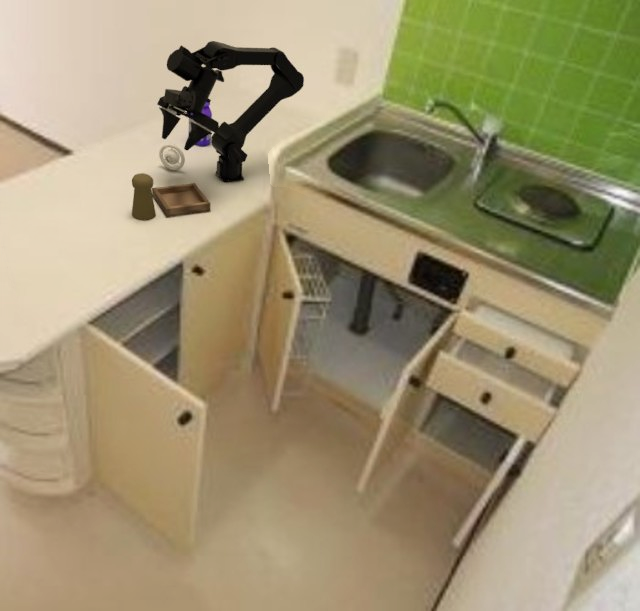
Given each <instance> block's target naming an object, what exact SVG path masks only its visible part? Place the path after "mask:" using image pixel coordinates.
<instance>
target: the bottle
mask: <svg viewBox="0 0 640 611" xmlns="http://www.w3.org/2000/svg"><path fill="white" fill-rule="evenodd" d="M210 106H211V103H210V104H209V103H207V102H206V104H205V106H204V108H203V110H202V113H203V114H205V115H207V116H209V117H210V118H212V119H213V112H212V110H211V108H210ZM191 115H193V113H191ZM191 122H193V123H195V124H196V122H194V120H192V119H190V118H188V135H189V134H190V132H191ZM211 137H212V134H211V135H210V134H209V135H207V136H206V137H204V138H203V139H201V140H200V141H199V142H198V143H196V144H195V146H196V145H197V146H200V147H204V146H208V145H209V144H210V143H211V140H212V139H211Z"/></svg>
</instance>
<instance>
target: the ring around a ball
mask: <svg viewBox="0 0 640 611" xmlns="http://www.w3.org/2000/svg"><path fill="white" fill-rule="evenodd" d="M168 148H171V149H168ZM165 149H168V150H166V152H165V153H164V151H165ZM158 155H159V156H158V157H159V159H160V160H159V161H160V162H161V163H162V165H163V166H164V167H165V168H167V169H168V170H171V171H179V170H181V169H182V168H183V166H184V165H185V163H186V159H185V158H186V157H185V154H184V152H183V151H182V149H181V148H180V147H179V146H178V145H176V144H173V143H165V144H164V145H162V146H161V147H160V149H159V152H158ZM179 161H180V162H179ZM176 164H178V165H176ZM174 165H175V166H174Z"/></svg>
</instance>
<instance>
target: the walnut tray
mask: <svg viewBox="0 0 640 611" xmlns="http://www.w3.org/2000/svg"><path fill="white" fill-rule="evenodd" d="M151 190H152V196H153V201H155V202H156V204H157V206H158V207H159V208H160V210H161V212H162V213H163V214H164V216H165V218H173V217H181V216H188V215H195V214H202V212H203V213H210V212H211V202H210V201H209V199H208V198H207V197H206V196H205V194H204V193H203V191H202V190H201V189H200V188H199V187H198V185H197V184H196V183H195V182H193V183H192V182H191V183H185V184H184V183H183V184H176V185H175V184H174V185H166V186H159V187H152V188H151ZM209 211H210V212H209Z"/></svg>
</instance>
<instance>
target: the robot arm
mask: <svg viewBox="0 0 640 611" xmlns="http://www.w3.org/2000/svg"><path fill="white" fill-rule="evenodd" d="M203 65H204V66H203ZM238 66H270V69H271V70H272V73H273V75H272V76H271V78H270V83H269V85H268V87H267V88H266V90H264V92H263V93H261V94H260V95H259V96H258V97H257V99H255V101H254V102H253V103H251V105H250V106H248V108H247V109H246V110H245V111H243V112H242V114H241V115H240V116H238V118H236V120H235V121H233V122H231V123H227V122H226V121H223V122H221V123H220V125H219V121H218V120H216V119H214V118H213V117H212V118H210V117H209V116H207V115H205V114H203V113H202V110H203V108H204V106H205V104H206V102H207V103H209V104H210V105H211V101H212V100H211V99H210V98H209V97H210V95H211V93H212V91H213V89H214V86H215V84H216V82H217V81H218V82H222V83H224V82H225V77H224V76H223V71H227V70H233V69H235V68H236V67H238ZM166 69H167V70H168V71H169V72H172V73H173V74H174V75H176V76H178V77H179V78H181V79H182V80H184V81H185V82H189V84H188V86H186V85H185V86H183V87H182V89H181V90H178V89H169V88H165V90H164V96H161V97H159V99H158V101H157V104H156V105H158V106H159V110H160V111H161V114H162V116H163V117H162V118H163V122H162V133H161V139H163V140H166V139H167V138H168V137H169V136H170V135H171V133H172V132H173V130H174V129H175V128H176V126H177V125H178V124H179V122H180V121H181V117H180V116H183V117H186V118H187V119H189V118H190V119H192V120H194V122H196V124H195V123H193V122H191V132H190V134H189V133H188V136H187V139H186V141H185V144H184V146H183V147H184V148H183V149H184V150H185V151H189V150H190V149H191V148H192V147H194V146H196V143H198V142H199V141H200V140H201V139H203V138H204V137H206V136H207V135H209V134H210V135H211V141H210V143H211V146H212V148H214V150H215V153H217V154H218V160H217V161H216V170H215V175H217V176H218V178H220V180H221V181H222V182H224V183H229V182H230V183H231V182H236V181H237V182H238V181H244V180H245V177H244V176H243V163H245V162H246V160H247V157H248V154H247V153H246V151H244V150H243V149H242V148H243V147H244V145H245V141H246V138H247V136H248V135H249V133H250V132H252V130H253V129H254V128H256V126H257V125H258V124H259V123H260V122H261V121H262V120H263V119H264V118H265V117H266V116H267V115H268V114H269V113H270V112H271V111H272V110H273V109H274V108H275V107H276V106H277V105H278V104H279V103H280V102H281V101H282V100H285V99H288V98H290V97H293V96H295V95H296V94H297V93H298V92H300V91H301V90H302V88H303V87H304V86H305V85H304V84H305V83H304V82H305V79H304V75H303V74H302V73H301V71H298V70H297V67H295V66H294V64H293V63H292V62H291V61H290V60H289V59H288V56H287V55H286V54H285V52H284V51H282V50H280V49H279V48H276V47H269V48H268V47H264V48H263V47H238V46H237V47H236V46H233V45H229V44H226V43H223V42H219V41H214V40H211V41H208V42H207V43H206V45H205V46H204V47H201V48H199V49H197V50H195V51H194V52H191V50H189V49H187V47H185V46H183V45H180V46H179V47H178V49H175V50H173V52H172V53H170V54H169V56H168V58H167V61H166ZM214 69H216V70H214ZM191 113H193V115H191ZM212 132H213V133H212Z"/></svg>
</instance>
